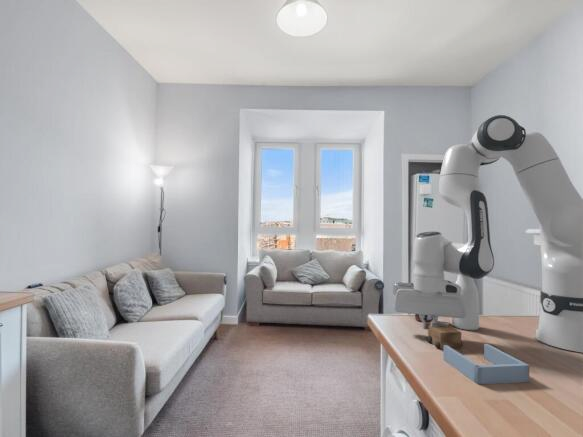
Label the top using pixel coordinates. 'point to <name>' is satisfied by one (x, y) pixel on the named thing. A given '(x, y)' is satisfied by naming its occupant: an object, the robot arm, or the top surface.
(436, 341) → the wooden toy wagon
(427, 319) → the supplement bottle
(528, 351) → the top surface
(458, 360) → the bay
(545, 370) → the top surface
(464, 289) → the milk bottle
